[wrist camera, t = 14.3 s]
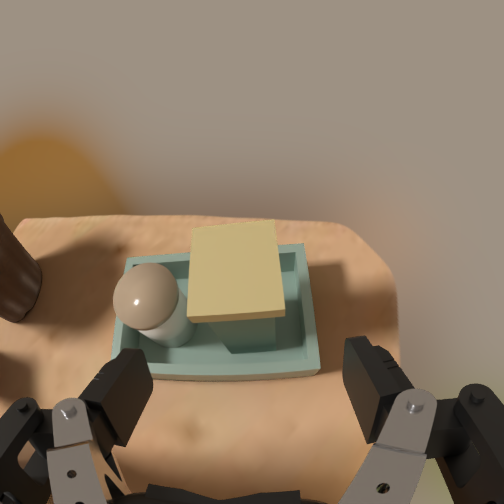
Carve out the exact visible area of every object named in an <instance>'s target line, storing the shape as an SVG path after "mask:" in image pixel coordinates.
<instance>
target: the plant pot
mask: <svg viewBox="0 0 504 504" xmlns="http://www.w3.org/2000/svg"><path fill="white" fill-rule="evenodd" d="M41 280H42V275H41V270H40V268H39V266H38V263H37V262H36V261H35V260H34V259H33V258H32V257H31V256H30V254H29V253H28V252H27V251H26V250H25V248H24V247H23V246H22V245H21V244H20V242H19V241H18V240H17V238H16V237H15V236H14V235H13V233H12V232H11V231H10V229H9V228H8V227H7V225H6V224H5V223H4V219H3V217H2V215H1V214H0V317H2V318H3V319H5V320H7V321H10V322H17V321H19V320H21V319H23V318H24V317H25V313H26V312H27V311H29V310H31V309H32V307H33V306H34V304H35V302H36V299H37V297H38V294H39V290H40V286H41Z"/></svg>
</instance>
